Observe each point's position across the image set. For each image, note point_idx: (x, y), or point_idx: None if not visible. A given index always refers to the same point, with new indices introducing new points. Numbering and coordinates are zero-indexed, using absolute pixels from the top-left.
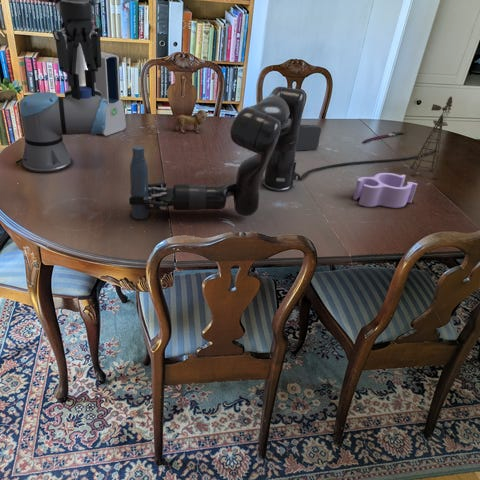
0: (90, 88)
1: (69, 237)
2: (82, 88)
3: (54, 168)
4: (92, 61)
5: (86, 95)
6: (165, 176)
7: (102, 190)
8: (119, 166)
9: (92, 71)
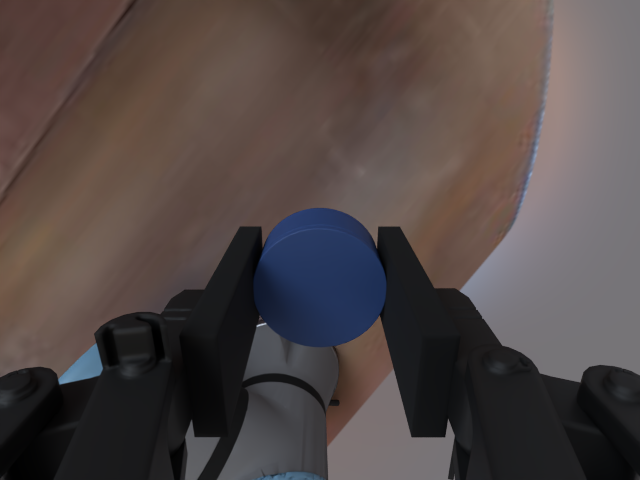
0: (268, 257)
1: (510, 7)
2: (324, 292)
3: None
4: (115, 453)
5: (338, 217)
6: (61, 96)
7: (272, 159)
8: (141, 242)
9: (181, 351)
